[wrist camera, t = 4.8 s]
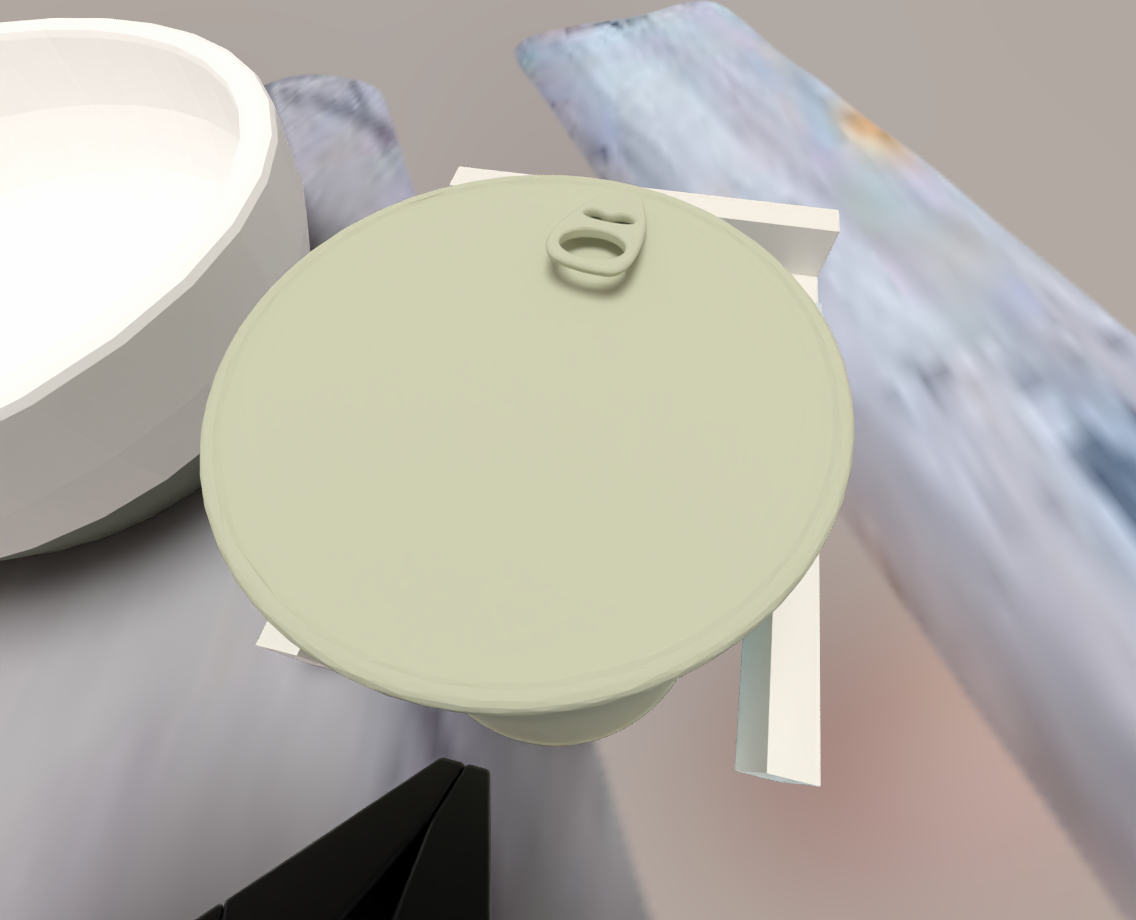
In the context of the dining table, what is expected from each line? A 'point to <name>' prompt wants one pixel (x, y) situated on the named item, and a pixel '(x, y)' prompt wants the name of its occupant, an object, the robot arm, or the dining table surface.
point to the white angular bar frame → (791, 633)
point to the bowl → (125, 263)
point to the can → (527, 450)
